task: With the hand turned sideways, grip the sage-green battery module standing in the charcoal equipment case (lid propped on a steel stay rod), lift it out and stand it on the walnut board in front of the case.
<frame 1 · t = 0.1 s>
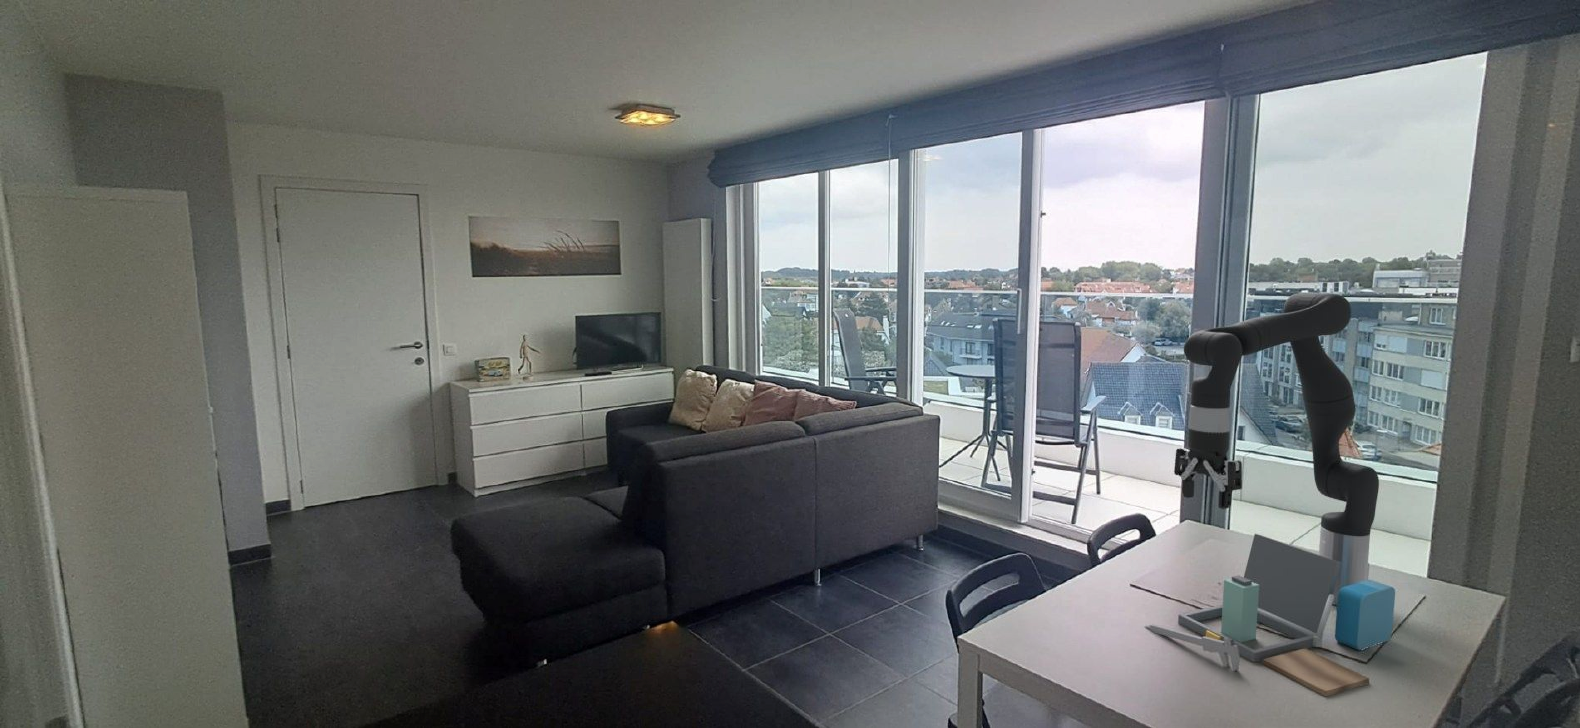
hand: (1205, 502, 152), 29 cm above the table, tool pointing down, fingers open, 8 cm apart
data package: (1362, 642, 151), on the table
equipment case: (1245, 634, 155), on the table
caliper: (1188, 650, 149), on the table
battery module: (1238, 636, 154), resting in equipment case
walnut board: (1314, 673, 139), on the table
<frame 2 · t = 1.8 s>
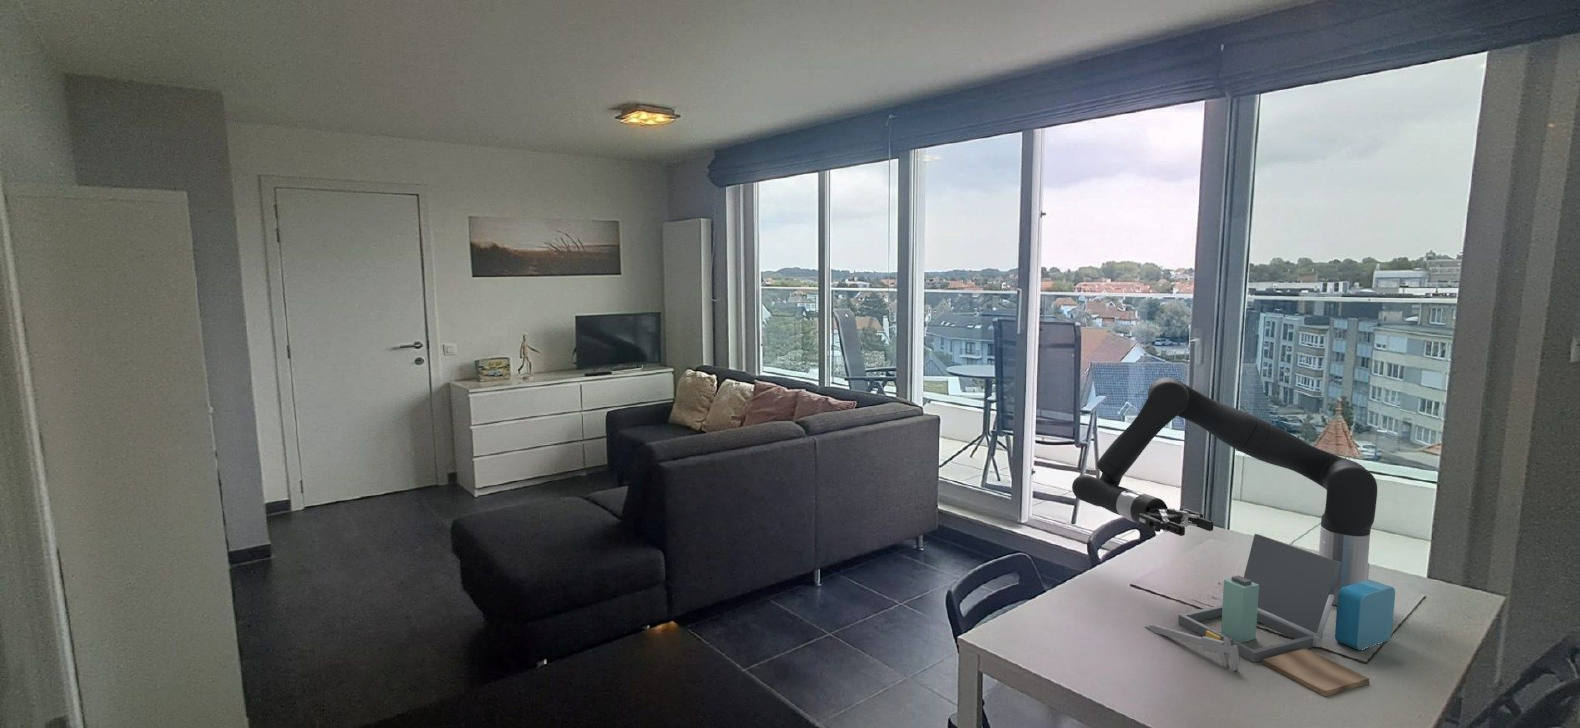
hand: (1198, 529, 162), 20 cm above the table, tool horizontal, fingers open, 8 cm apart
nothing on the table moved.
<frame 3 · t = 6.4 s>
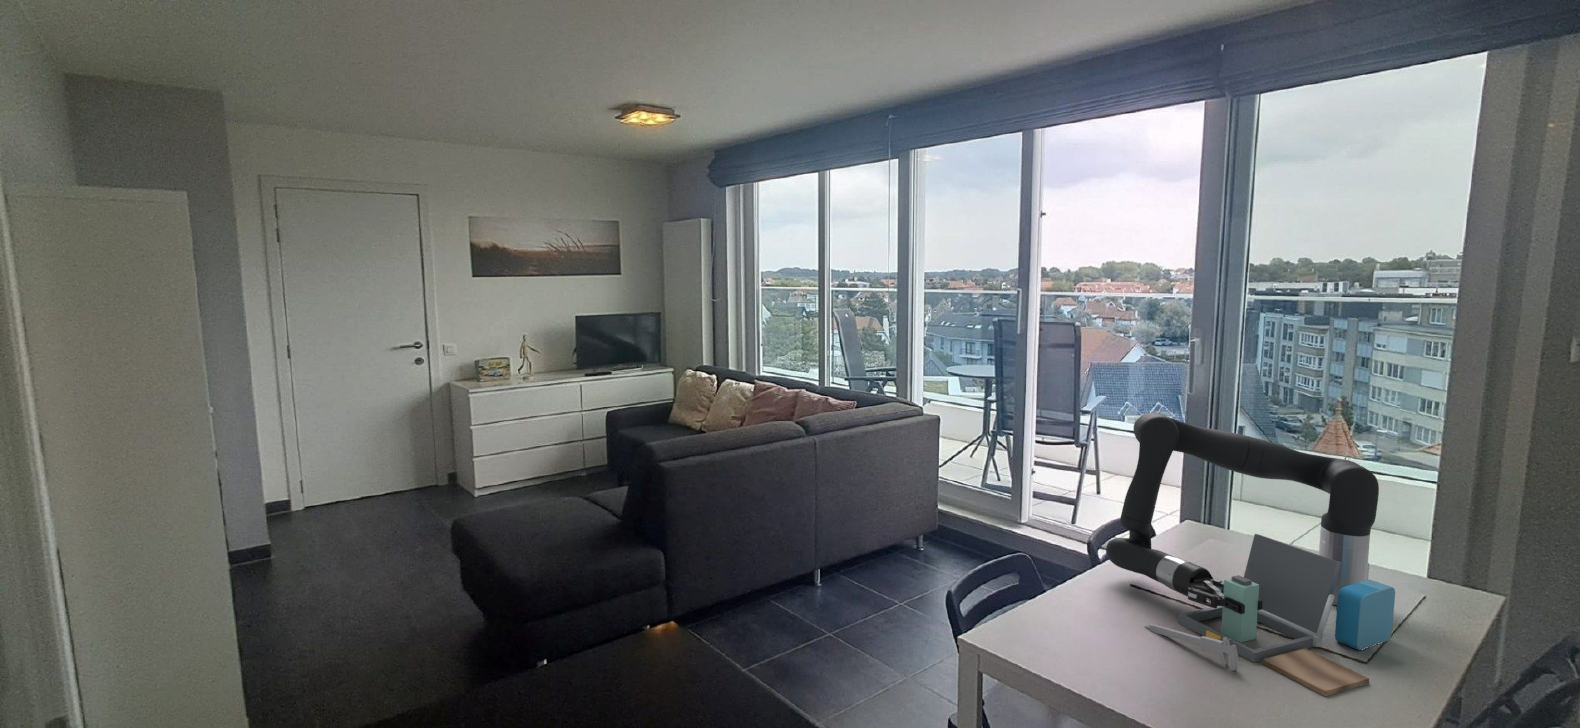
hand: (1252, 607, 151), 8 cm above the table, tool horizontal, fingers closed on battery module, 4 cm apart
battery module: (1238, 635, 154), resting in equipment case, touching gripper
everything else where it was.
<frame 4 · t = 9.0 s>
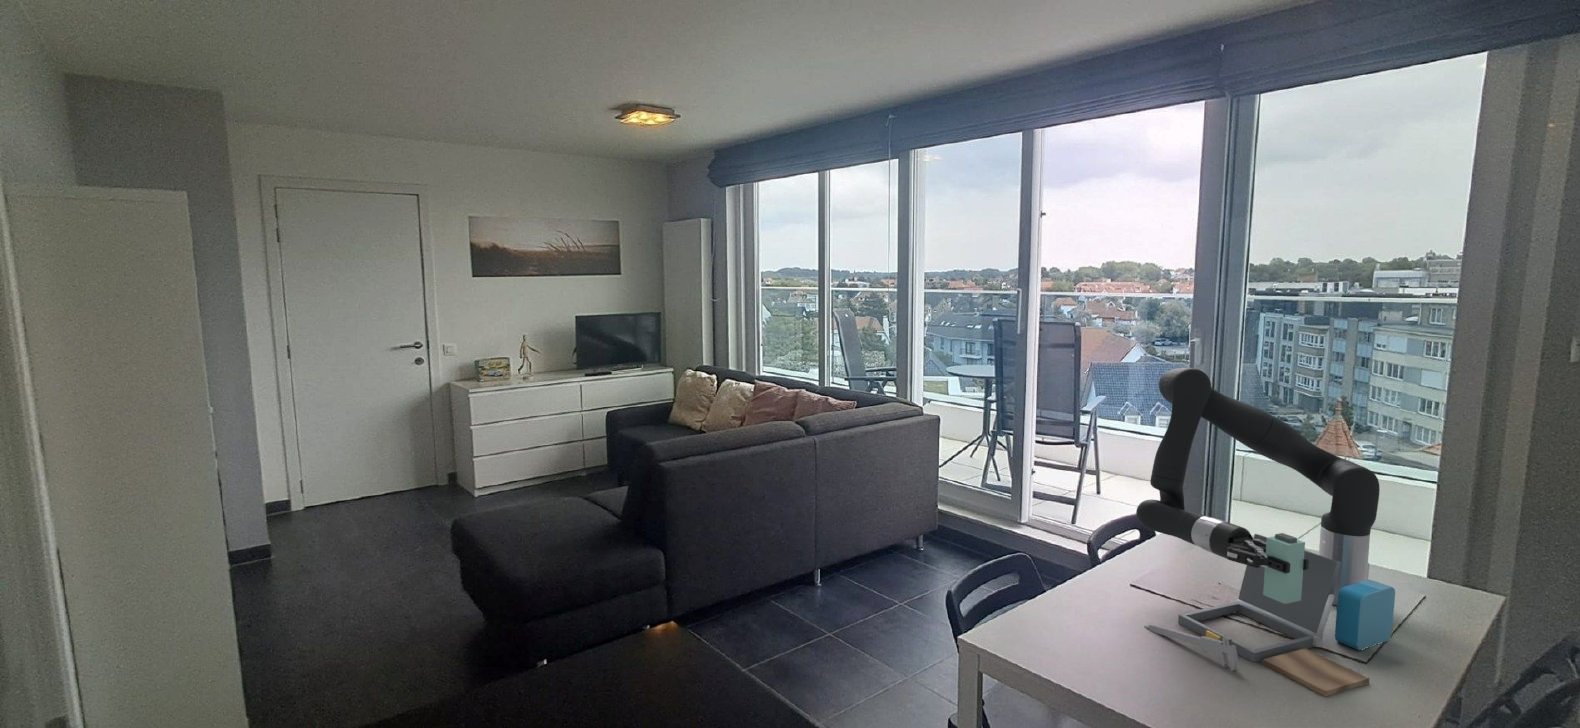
hand: (1297, 566, 141), 20 cm above the table, tool horizontal, fingers closed on battery module, 4 cm apart
battery module: (1281, 597, 144), point 12 cm above the table, touching gripper
everything else where it was.
when the fingers open (9 cm above the table, at t = 12.0 s): battery module stays where it is, resting on walnut board.
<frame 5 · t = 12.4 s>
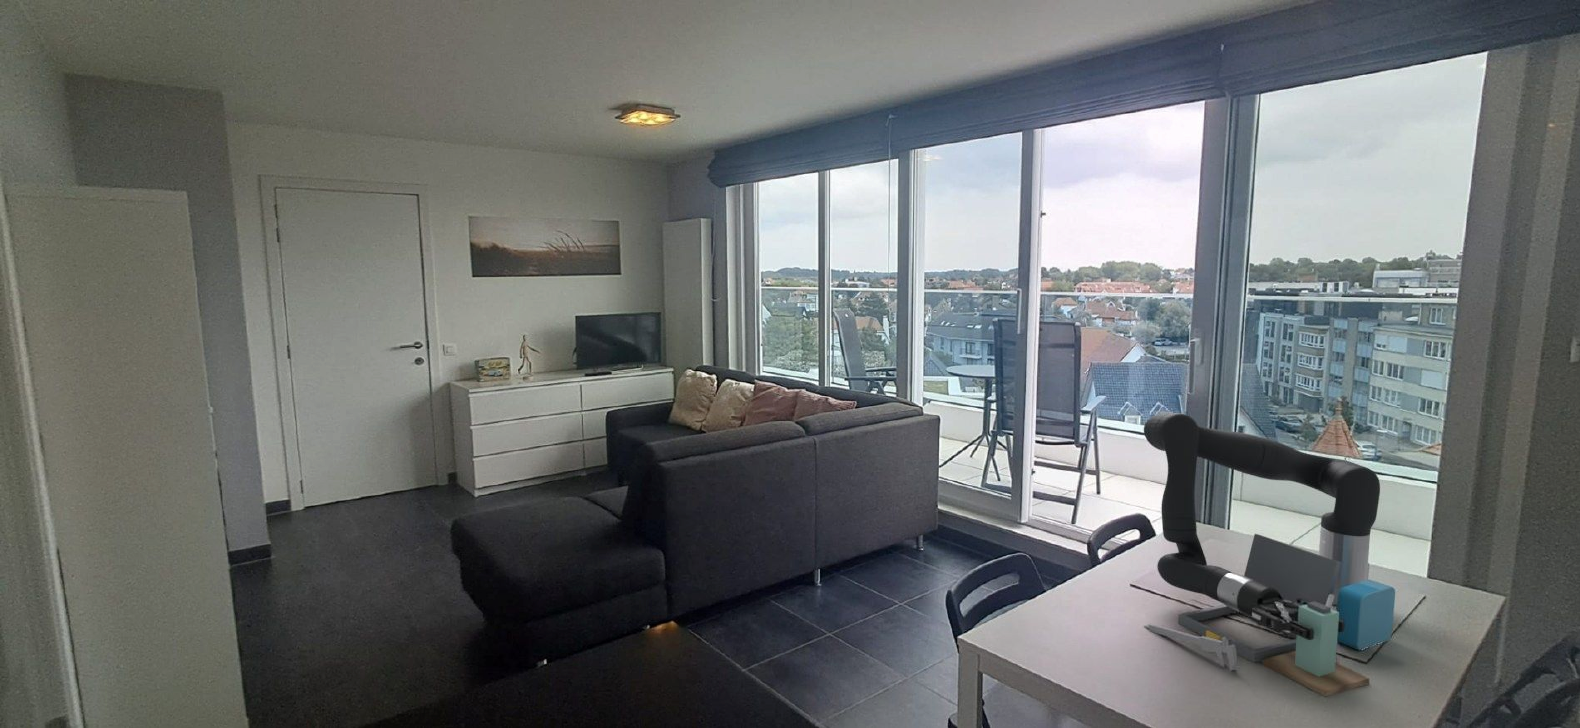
hand: (1328, 631, 136), 10 cm above the table, tool horizontal, fingers open, 8 cm apart
battery module: (1314, 668, 139), point 1 cm above the table, touching walnut board
everything else where it was.
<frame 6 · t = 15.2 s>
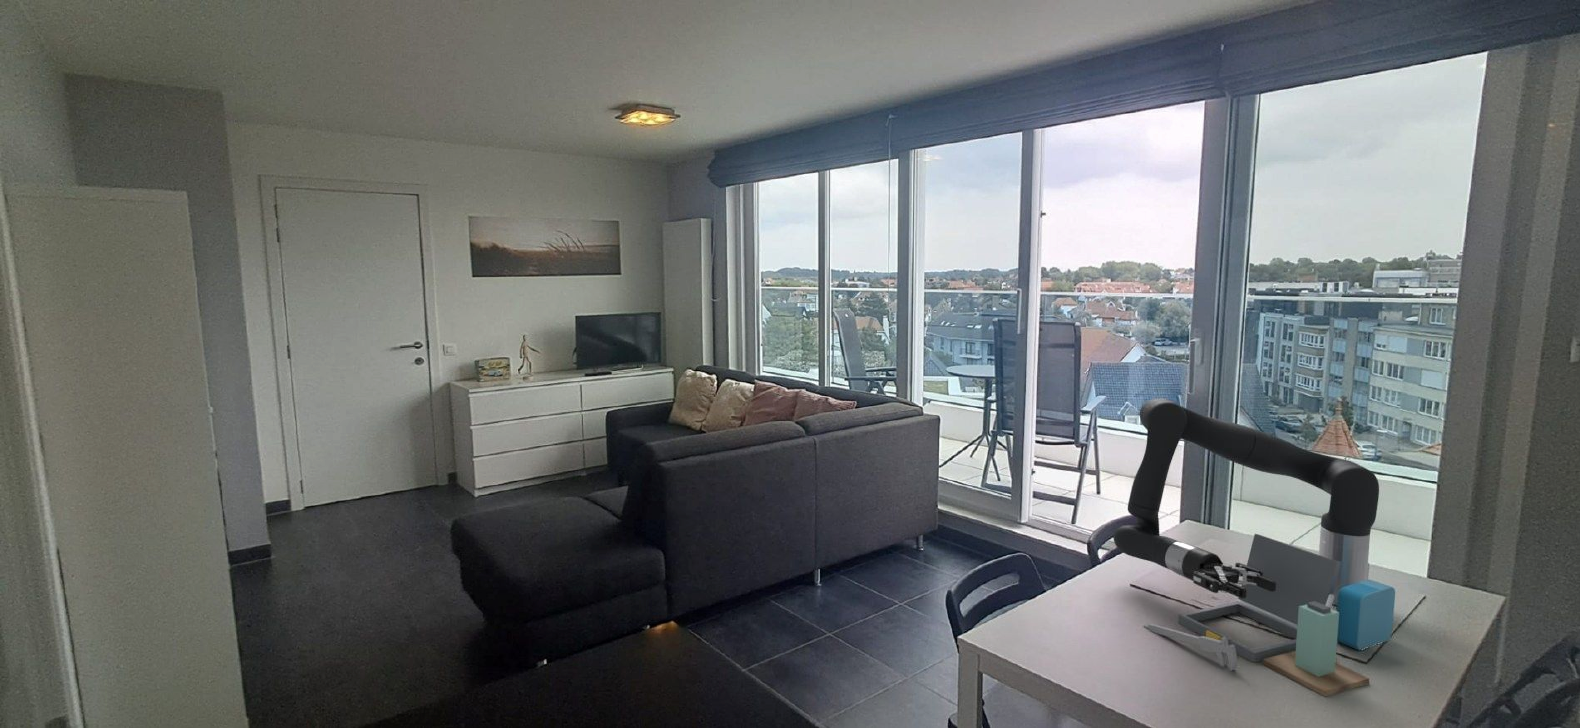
hand: (1260, 590, 149), 12 cm above the table, tool horizontal, fingers open, 8 cm apart
nothing on the table moved.
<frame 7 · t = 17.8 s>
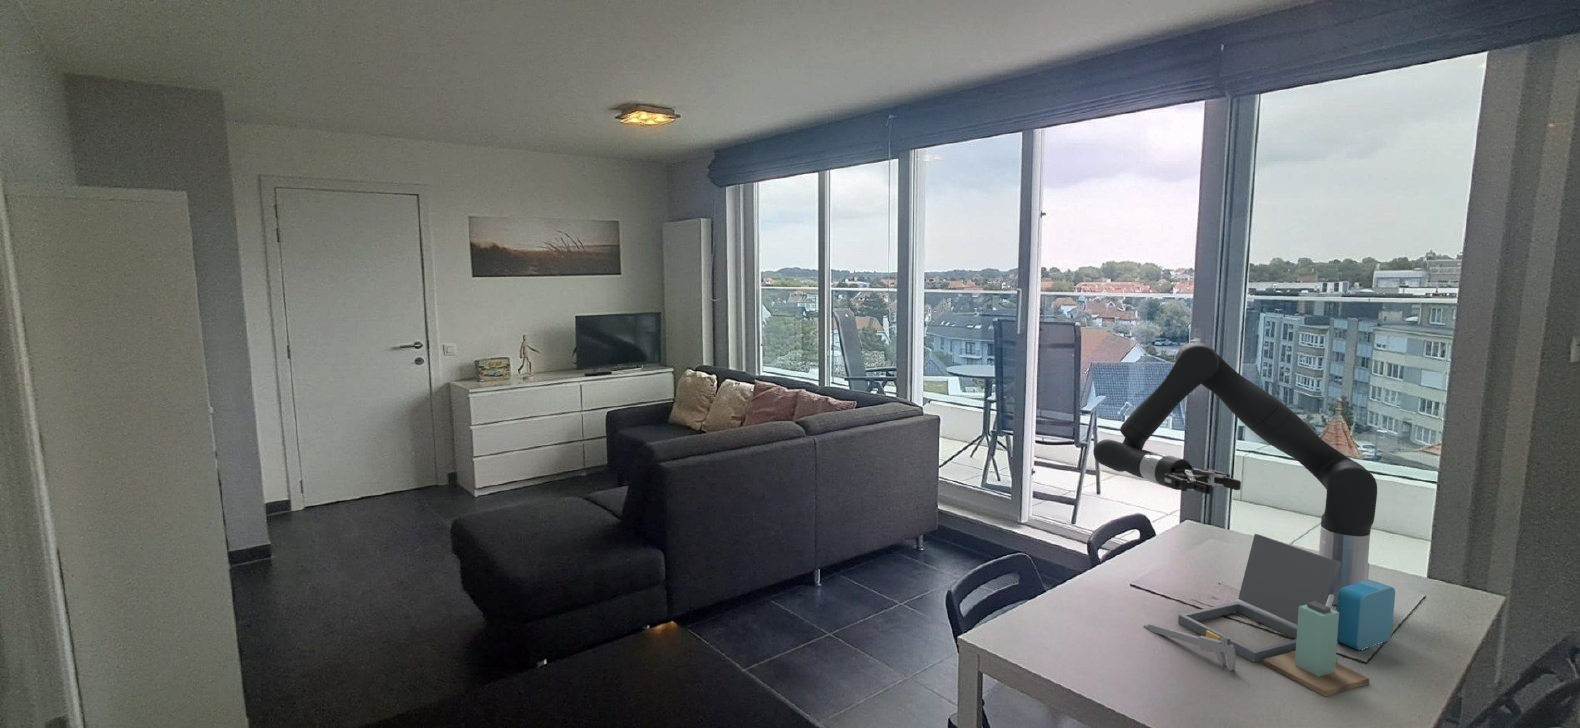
hand: (1225, 487, 160), 30 cm above the table, tool horizontal, fingers open, 8 cm apart
nothing on the table moved.
at the end: battery module inside the target area on the walnut board (0.0 cm from its centre), point 1.0 cm above the walnut board's base; battery module tilted 0°; the gripper is holding nothing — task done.
